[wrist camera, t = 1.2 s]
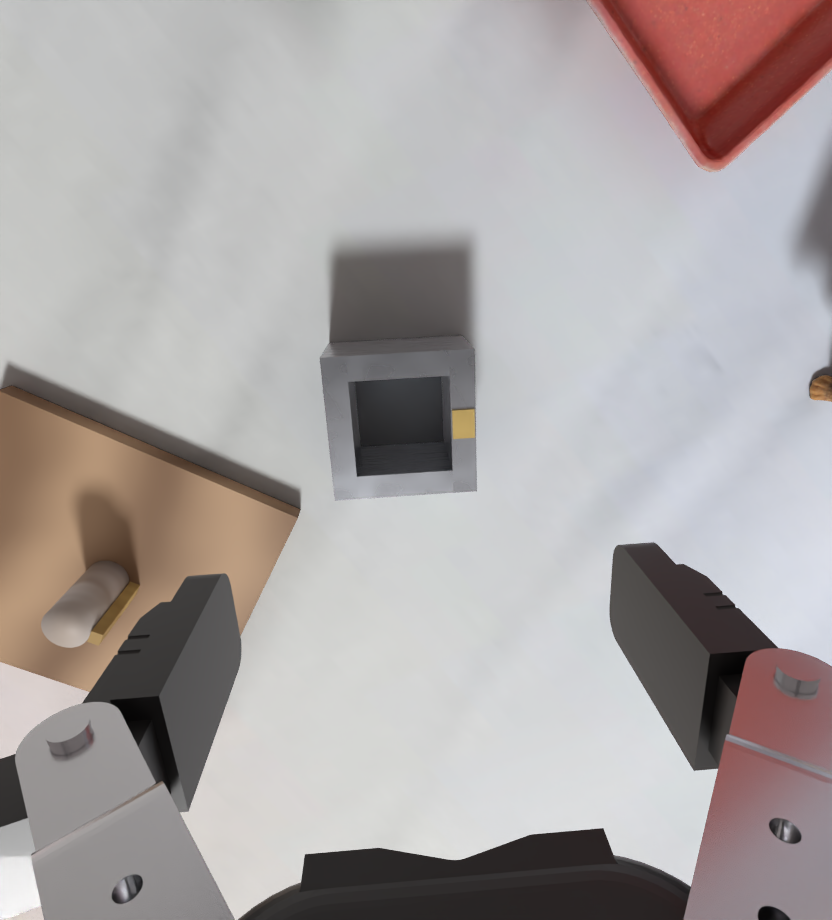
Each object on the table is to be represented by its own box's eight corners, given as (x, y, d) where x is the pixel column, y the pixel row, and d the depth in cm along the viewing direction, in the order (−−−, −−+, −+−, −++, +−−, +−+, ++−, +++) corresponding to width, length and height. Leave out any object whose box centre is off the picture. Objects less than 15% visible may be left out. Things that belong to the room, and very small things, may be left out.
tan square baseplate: (-60, 624, 30) (-143, 693, 25) (11, 385, 26) (-71, 414, 21) (201, 714, 33) (170, 791, 28) (300, 509, 29) (284, 559, 24)
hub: (341, 467, 28) (334, 501, 24) (329, 342, 26) (319, 358, 22) (464, 459, 28) (477, 491, 25) (461, 335, 26) (474, 349, 22)
